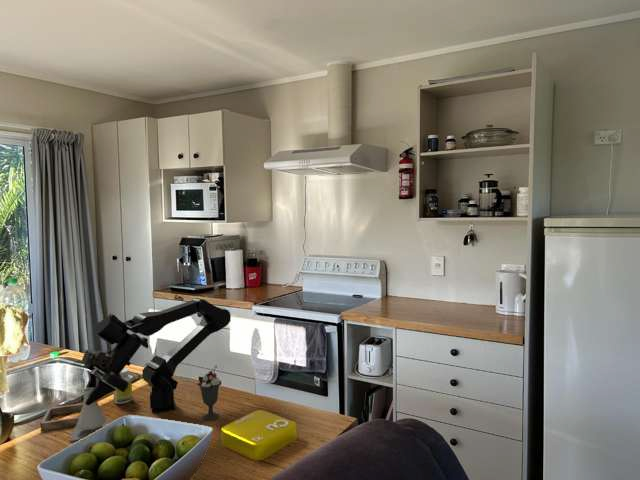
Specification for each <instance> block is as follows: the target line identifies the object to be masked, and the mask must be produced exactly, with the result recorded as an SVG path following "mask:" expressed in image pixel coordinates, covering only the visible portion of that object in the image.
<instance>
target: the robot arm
mask: <svg viewBox="0 0 640 480" xmlns="http://www.w3.org/2000/svg"><path fill="white" fill-rule="evenodd" d="M196 314H200V315H202V317H201V319H200V321H199V324H198V325H196V327H194V329H193V330H192V331H190V333H188V334H187V335H186V336H185V337H184V338H183V339H182V340H181V341H179V343H178V344H176V345H175V346H174V347H173V348H172V349H171V350H170V351H168V353H166V354H165V355H163V356H159V355H156V354H155V356H153V357H152V358H151V360H150V361H148V362H146V363H145V366H144V368H143V369H142V374H141V377H142V380H143V381H145V382H146V383H147V384H148V386H149V387H151V392H149V408H150V409H151V413H153V414H154V413H160V412H161V413H162V412H166V411H167V412H168V411H173V410H175V409H176V405H175V396H174V395H175V390H176V389H177V386H178V383H179V382H178V381H177V380H175V379H174V378H173V376H174V374H175V372H176V369H177V367H178V366H179V364H181V362H183V361H184V360H185V359H186V358H187V357H188V356H189V355H190V354H191V353H192V352H194V350H196V348H197V347H198V346H199V345H200V344H202V343H203V342H204V341H205V340H206V339H207V338H208V337H210V335H212V334H214V333H217V332H218V331H221V330H223V329H224V328H225V327H227V326H228V325H229V324H230V322H231V321H232V320H231V318H232V317H231V312H230V310H228V309H227V308H226V309H225V308H221V307H219V306H216V305H214V304H212V303H210V302H208V301H207V299H204V298H199V297H196V298H194V299H192V300H191V299H190V300H188V301H186V302H183V303H180V304H177V305H174V306H172V307H171V306H170V307H168V308H165V309H163V310H159V311H148V312H147V311H146V312H140V313H138V314H136V315H134V316H133V318H131V319H128V320H125V321H121V320H120V319H119V318H118V317H117V316H116V315H114V314H112V313H109V314H108V316H106V317H104V318H103V319H102V320H100V321H98V323H97V324H96V325H95V327H94V329H93V334H94V335H96V336H97V337H99V339H101V340H102V341H105V342H106V343H107V344H109V345H110V346H111V345H114V344H115V346H114V347H113V348H112V350H111V349H110V348H109V349H107V350H106V351H100V350H98V351H96V350H91V349H85V351H84V354H83V356H82V359H81V362H84V364H83V367H84V368H86V369H87V375H88V376H87V377H88V382H87V384H86V386H85V389H86V388H91V387H93V388H94V389H93V391H92V392H91V394H90V395H89V397H88V399H87V400H86V402H85V404H86V405H90V404H92V403H93V402H95V401H97V402H98V401H99V400H101V398H104V397H105V396H107V395H108V394H112V392H113V393H114V391H116V389H115V388H117V389H119V390H120V391H122V392H125V390H126V389H127V388H128V382H127V381H126V380H124V379H123V378H121V375H120V373H121V371H122V370H123V369H125V367H126V366H128V367H129V366H130V365H131V364H132V363H131V362H130V361H131V360H132V359H133V357H134V355H136V352H138V350H139V349H140V347H141V346H142V347H143V348H145V349H148V348H149V343H148V341H149V339H148V338H147V337H150V336H152V335H154V334H156V333H157V332H159V331H161V330H162V329H163V328H164V327H165V326H167V325H169V324H172V323H174V322H178V321H180V320H182V319H184V318H189V317H191V316H193V315H196ZM129 332H131V333H129ZM138 334H140V335H142V336H145V337H141V336H140V335H138ZM80 401H82V402H83V401H84V394H83V393H82V396H81V399H80Z"/></svg>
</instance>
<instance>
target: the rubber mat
mask: <svg viewBox="0 0 640 480" xmlns="http://www.w3.org/2000/svg"><path fill="white" fill-rule="evenodd" d="M108 423H110V424H111V420H106V421H105V423H104V424H103V425H102V426H99V427H97V428H95V429H91V430H81V429H78V428H76V426H77V425H74V428H73V431H72V433H71V436H70V439H69V443H73V442H79V441H78V440H80V439H82V438H84V437H86V436H88V435H89V434H91V433H93V432H95V431H96V430H98V429H100V428H102V427H103V426H105V425H106V424H108ZM80 441H81V440H80Z"/></svg>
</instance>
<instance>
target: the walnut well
mask: <svg viewBox="0 0 640 480" xmlns="http://www.w3.org/2000/svg"><path fill="white" fill-rule="evenodd" d="M82 407H83V402H82V403H75V404H68V405H63V406H62V405H61V406H54V407H49V408H48V409H47V410H46V412H45V414H44V416H43V418H42V420H41V422H40V431H46V430H53V429H60V428H66V427H73V426H74V427H75V426H77V423H78V420H79V417H80V416H75V417H69V418H68V417H67V418H62V419H55V420H50V419H51V417H52V416H56V415H65V414H71V413H77V412H81V410H82Z"/></svg>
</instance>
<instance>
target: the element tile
mask: <svg viewBox="0 0 640 480" xmlns="http://www.w3.org/2000/svg"><path fill="white" fill-rule="evenodd" d="M220 438H221V439H220V440H221V441H220V442H221V445H222V446H223V447H226V448H227V449H229V450H232V451H234V452H236V453H239V454H240V455H242V456H244V457H246V458H248V459H251V460H252V461H261V460H265V459H266V458H268V457H270V456H271V455H273V454H275V453H276V452H278V451H280V450H281V449H283V448H285V447H287V445H290V444H291V443H293V442H294V441H296V440H297V423H296V422H295V421H293V420H290V419H288V418H284V417H283V416H280V415H277V414H274V413H272V412H269V411H267V410H262V409H257V410H254V411H253V412H251V413H249V414H247V415H244V416H242V417H240V418H237V419H236V420H234V421H232V422H230V423H228V424H226V425H224V426H222V427H221V429H220Z"/></svg>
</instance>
